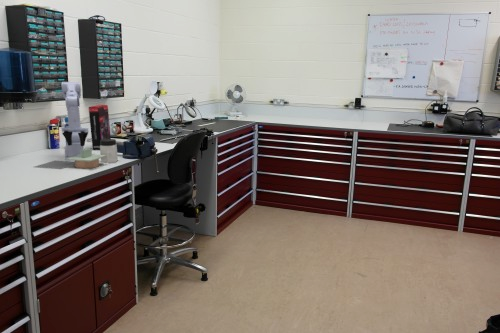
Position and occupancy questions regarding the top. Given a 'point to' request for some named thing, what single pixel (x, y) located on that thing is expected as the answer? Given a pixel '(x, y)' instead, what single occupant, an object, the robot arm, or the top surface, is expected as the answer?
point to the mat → (56, 164)
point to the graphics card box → (99, 124)
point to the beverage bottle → (66, 123)
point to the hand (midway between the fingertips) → (76, 145)
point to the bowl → (87, 164)
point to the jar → (108, 150)
